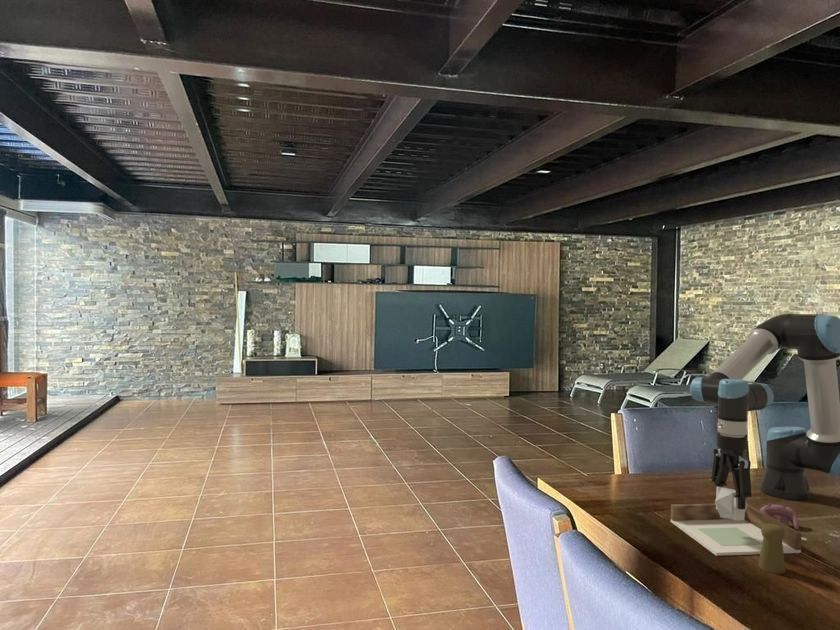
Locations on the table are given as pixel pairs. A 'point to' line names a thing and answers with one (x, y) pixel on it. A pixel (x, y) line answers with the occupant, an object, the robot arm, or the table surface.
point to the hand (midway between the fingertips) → (729, 514)
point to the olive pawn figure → (772, 549)
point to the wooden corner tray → (729, 529)
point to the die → (726, 503)
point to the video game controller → (781, 514)
